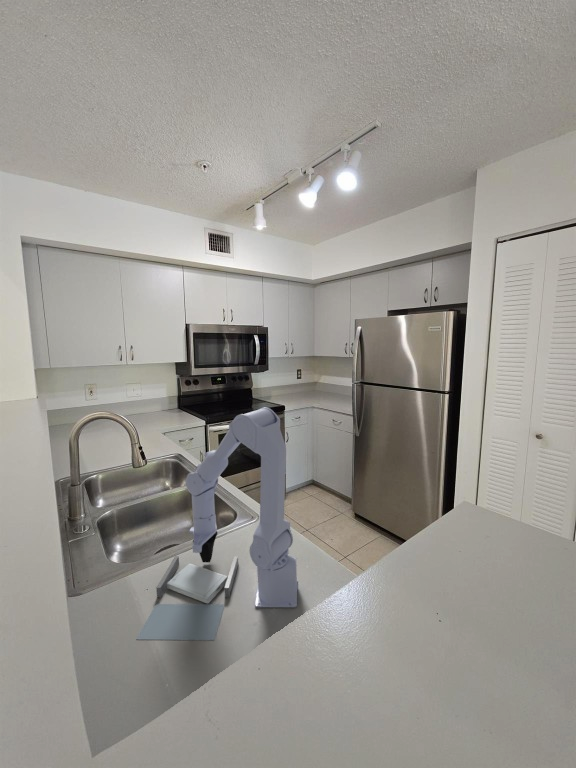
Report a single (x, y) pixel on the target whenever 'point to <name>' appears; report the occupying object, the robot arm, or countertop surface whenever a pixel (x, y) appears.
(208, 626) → the mat
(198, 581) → the hard drive
